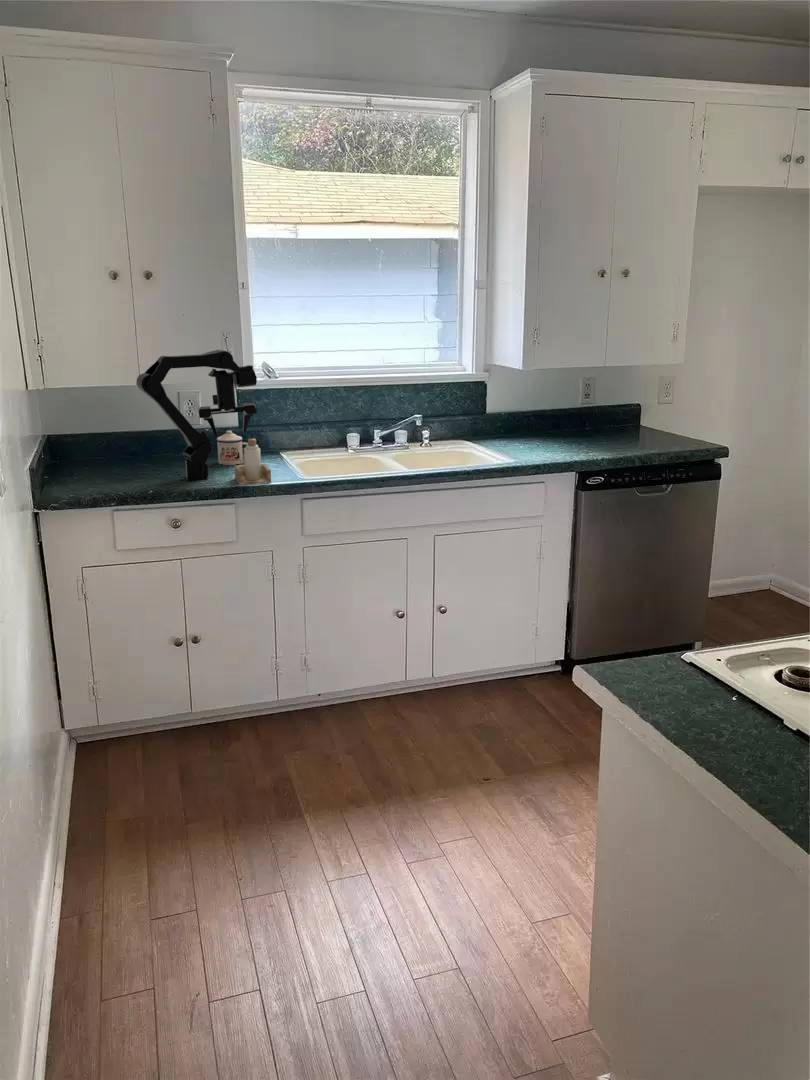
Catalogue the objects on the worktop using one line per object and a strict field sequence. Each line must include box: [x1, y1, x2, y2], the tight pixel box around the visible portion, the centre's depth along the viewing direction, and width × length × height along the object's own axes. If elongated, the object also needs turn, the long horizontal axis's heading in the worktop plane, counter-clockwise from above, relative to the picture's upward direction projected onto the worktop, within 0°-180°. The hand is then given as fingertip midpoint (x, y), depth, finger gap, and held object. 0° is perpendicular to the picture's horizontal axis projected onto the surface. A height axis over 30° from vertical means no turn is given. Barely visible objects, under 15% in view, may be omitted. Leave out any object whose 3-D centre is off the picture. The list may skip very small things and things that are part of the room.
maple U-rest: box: [234, 463, 272, 486], centre depth 273 cm, size 10×10×4 cm
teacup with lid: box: [216, 430, 248, 466], centre depth 298 cm, size 12×9×12 cm
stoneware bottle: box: [243, 438, 262, 480], centre depth 271 cm, size 5×5×13 cm
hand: (230, 435), depth 278 cm, fingers open, 9 cm apart
